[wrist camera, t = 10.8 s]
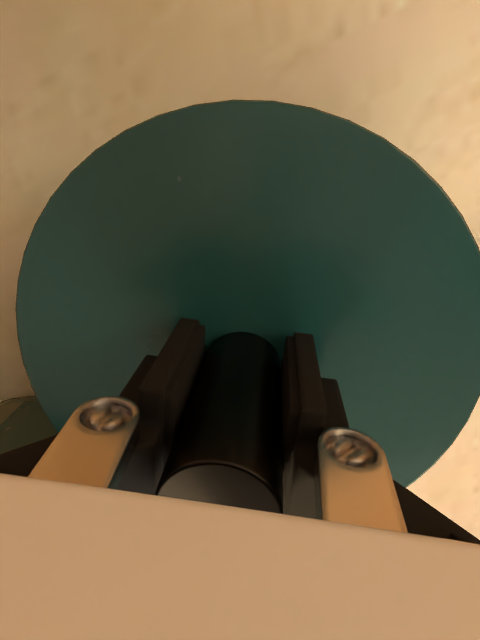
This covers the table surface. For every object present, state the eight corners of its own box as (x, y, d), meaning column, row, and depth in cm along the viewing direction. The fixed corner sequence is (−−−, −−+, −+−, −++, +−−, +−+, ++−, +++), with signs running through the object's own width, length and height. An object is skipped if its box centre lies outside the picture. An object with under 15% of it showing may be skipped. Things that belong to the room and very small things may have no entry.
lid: (554, 134, 10) (983, 99, 4) (405, 531, 16) (486, 769, 10) (9, 79, 11) (-349, -24, 5) (56, 479, 16) (-77, 672, 10)
